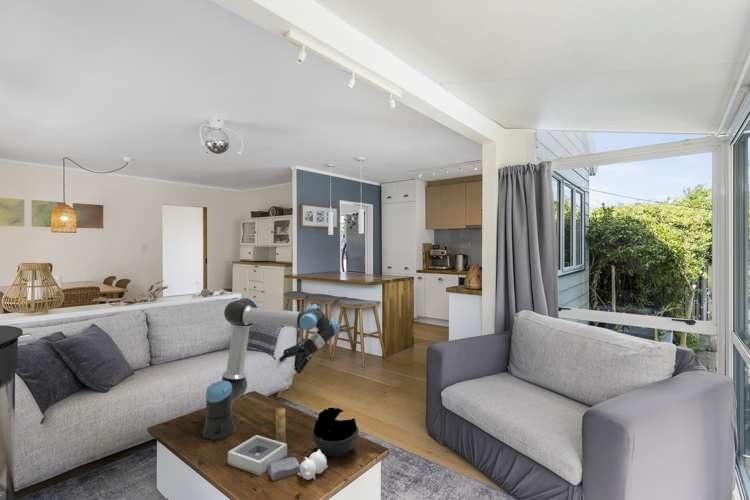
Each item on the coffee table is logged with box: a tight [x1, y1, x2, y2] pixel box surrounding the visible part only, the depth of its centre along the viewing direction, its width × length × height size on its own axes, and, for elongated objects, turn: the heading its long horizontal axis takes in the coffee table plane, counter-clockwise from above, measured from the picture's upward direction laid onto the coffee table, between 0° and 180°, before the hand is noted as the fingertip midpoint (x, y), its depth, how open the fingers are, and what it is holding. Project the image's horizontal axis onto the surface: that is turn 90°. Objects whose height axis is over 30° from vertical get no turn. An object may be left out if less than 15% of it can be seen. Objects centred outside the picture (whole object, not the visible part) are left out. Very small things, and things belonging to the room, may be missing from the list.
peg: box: [275, 407, 287, 444], centre depth 169 cm, size 4×4×16 cm
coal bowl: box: [312, 407, 360, 458], centre depth 161 cm, size 20×20×19 cm
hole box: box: [227, 434, 288, 476], centre depth 157 cm, size 18×16×5 cm
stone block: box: [267, 456, 301, 482], centre depth 149 cm, size 12×5×10 cm
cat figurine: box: [297, 449, 328, 480], centre depth 146 cm, size 9×11×12 cm
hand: (279, 373), depth 178 cm, fingers open, 13 cm apart
